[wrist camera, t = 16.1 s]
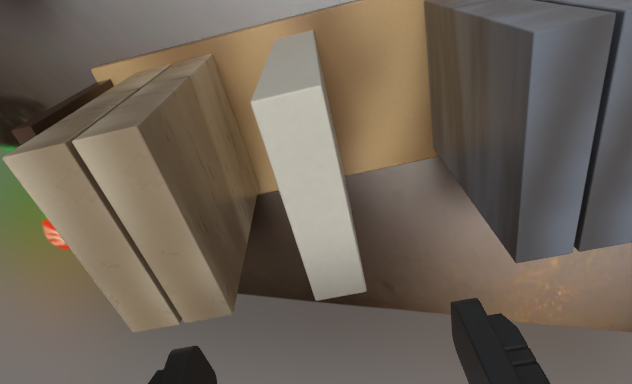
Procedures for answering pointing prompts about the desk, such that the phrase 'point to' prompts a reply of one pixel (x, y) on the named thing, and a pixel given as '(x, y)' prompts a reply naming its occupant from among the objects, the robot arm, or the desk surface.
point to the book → (308, 164)
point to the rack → (339, 138)
